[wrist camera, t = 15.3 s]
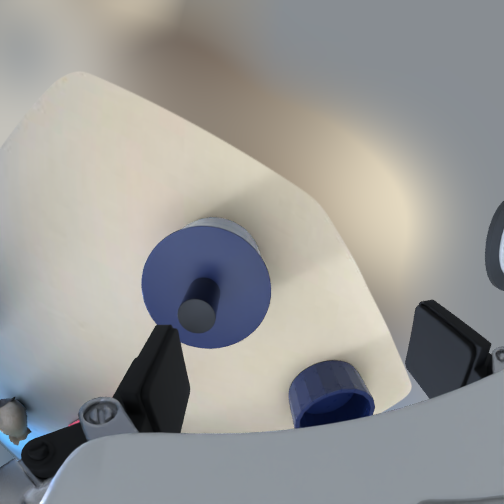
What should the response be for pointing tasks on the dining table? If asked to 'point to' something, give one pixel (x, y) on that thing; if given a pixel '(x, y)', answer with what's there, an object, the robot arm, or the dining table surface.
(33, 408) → the dining table surface
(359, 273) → the dining table surface
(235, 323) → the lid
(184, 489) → the robot arm
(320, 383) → the blue cylindrical container
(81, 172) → the dining table surface
